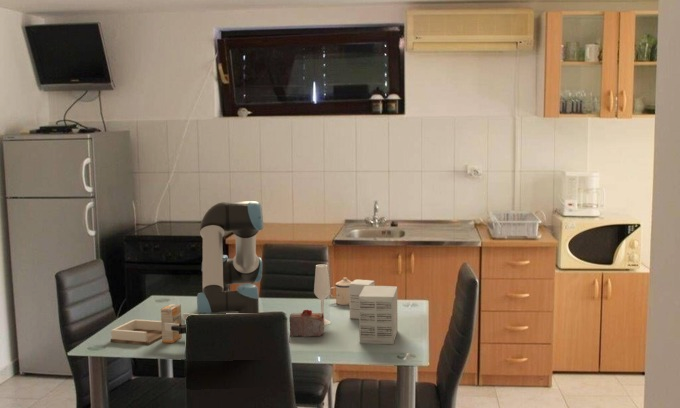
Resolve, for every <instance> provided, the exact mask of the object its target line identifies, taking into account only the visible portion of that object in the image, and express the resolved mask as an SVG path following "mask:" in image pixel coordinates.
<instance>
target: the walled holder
mask: <svg viewBox="0 0 680 408" xmlns="http://www.w3.org/2000/svg"><path fill="white" fill-rule="evenodd" d="M110 331H111V332H110V334H111V339H110V342H111V343H120V344H121V343H122V344H133V345H134V344H135V345H145V346H150V345H152V344H155V343H156V342H158V341H159V340H162V325H161V320H152V319H151V320H150V319H149V320H148V319H139V318H138V319H132V320H130V321H127V322H126V323H123V324H121V325H118V326H117V327H115V328H113V329H111V330H110Z"/></svg>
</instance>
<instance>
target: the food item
mask: <svg viewBox="0 0 680 408" xmlns="http://www.w3.org/2000/svg"><path fill="white" fill-rule="evenodd" d="M324 318H325V313H324V314H323V313H321V312H320V313H319V312H318V313H317V312H314V313H313V311H312V310H310V309H303V310H302V312H291V314H289V319H288V320H289V337H303V338H309V337H320V336H321V335H323V333H324V332H325V325H324Z"/></svg>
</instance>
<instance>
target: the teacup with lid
mask: <svg viewBox="0 0 680 408" xmlns="http://www.w3.org/2000/svg"><path fill="white" fill-rule="evenodd" d="M351 282H353V281H351V280H350V279H348V277H342V279H341V280H339V281H337V282H336V283H335V285H334V286H332V287H331V286H330V294H329V296H330V297H331V298H334V299H335V302H336V305H341V306H349V284H350V283H351ZM334 289H335V295H333V294H332V290H334Z"/></svg>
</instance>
